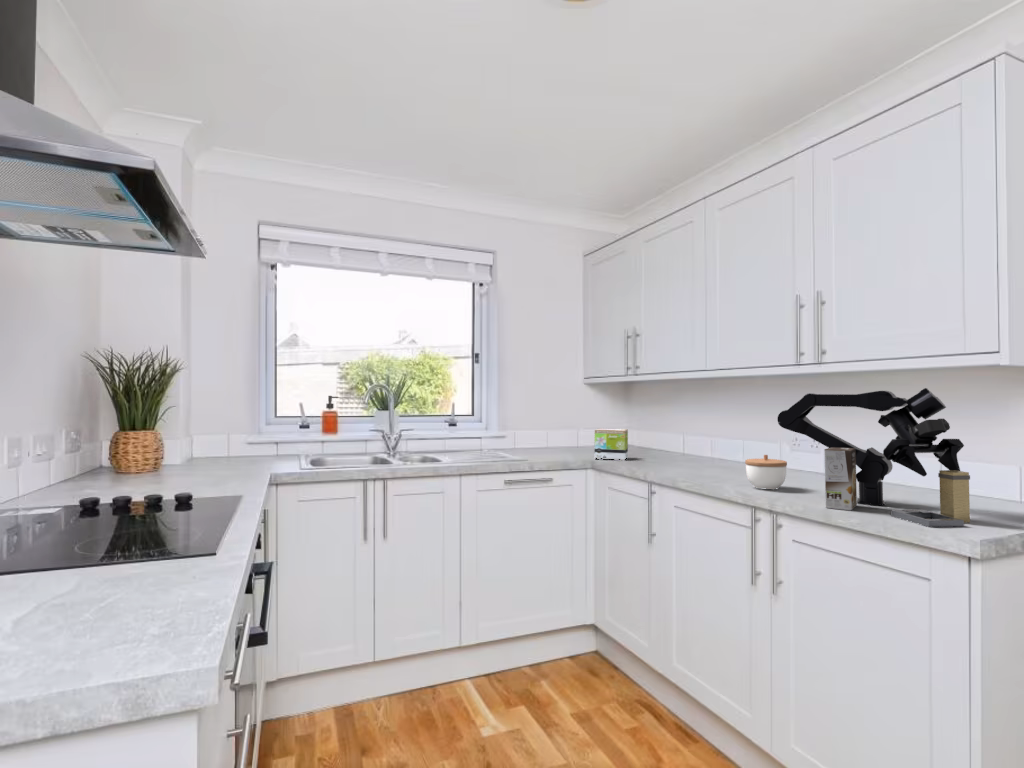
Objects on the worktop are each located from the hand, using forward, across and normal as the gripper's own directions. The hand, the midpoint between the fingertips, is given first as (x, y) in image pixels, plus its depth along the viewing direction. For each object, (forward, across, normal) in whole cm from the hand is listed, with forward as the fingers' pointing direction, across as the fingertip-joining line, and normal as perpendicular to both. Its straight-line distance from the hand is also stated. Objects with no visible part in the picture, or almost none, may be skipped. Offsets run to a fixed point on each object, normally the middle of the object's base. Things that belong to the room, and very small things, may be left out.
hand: (942, 475), depth 140 cm
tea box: (-87, -49, +104) cm, 144 cm away
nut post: (+10, -1, +5) cm, 11 cm away
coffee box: (-3, -16, +18) cm, 25 cm away
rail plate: (+11, -8, +4) cm, 14 cm away
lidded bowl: (-25, -20, +41) cm, 52 cm away
